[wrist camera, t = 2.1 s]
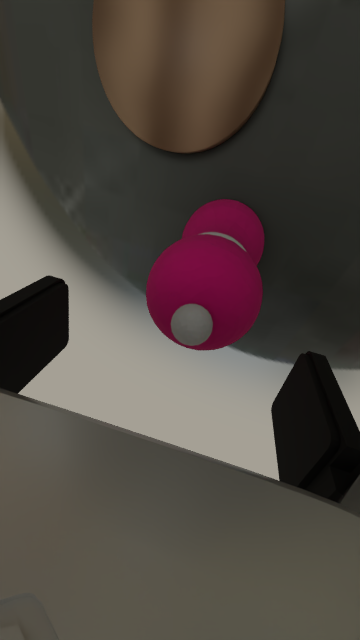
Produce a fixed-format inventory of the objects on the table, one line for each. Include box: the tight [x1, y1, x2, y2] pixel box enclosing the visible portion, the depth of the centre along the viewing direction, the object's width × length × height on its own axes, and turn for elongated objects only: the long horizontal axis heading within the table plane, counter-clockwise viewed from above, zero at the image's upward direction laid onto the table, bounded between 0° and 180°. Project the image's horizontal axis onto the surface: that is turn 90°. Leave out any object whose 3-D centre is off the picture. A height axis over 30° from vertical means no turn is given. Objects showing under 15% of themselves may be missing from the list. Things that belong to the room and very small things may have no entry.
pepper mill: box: [146, 199, 264, 350], centre depth 19 cm, size 7×7×20 cm
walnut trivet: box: [92, 0, 285, 154], centre depth 20 cm, size 14×14×2 cm
